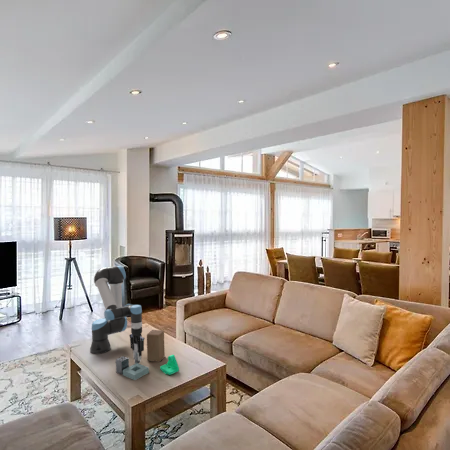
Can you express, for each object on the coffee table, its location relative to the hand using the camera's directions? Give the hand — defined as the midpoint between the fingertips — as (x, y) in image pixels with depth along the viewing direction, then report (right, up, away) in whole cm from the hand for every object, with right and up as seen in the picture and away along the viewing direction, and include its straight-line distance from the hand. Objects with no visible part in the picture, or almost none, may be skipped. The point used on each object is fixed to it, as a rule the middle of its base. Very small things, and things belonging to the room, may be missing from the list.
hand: (137, 359), depth 231 cm
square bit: (-7, -4, -11) cm, 13 cm away
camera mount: (+25, -4, -11) cm, 27 cm away
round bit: (0, -2, 0) cm, 2 cm away
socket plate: (+3, -4, -14) cm, 15 cm away
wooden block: (+12, -3, +8) cm, 14 cm away
